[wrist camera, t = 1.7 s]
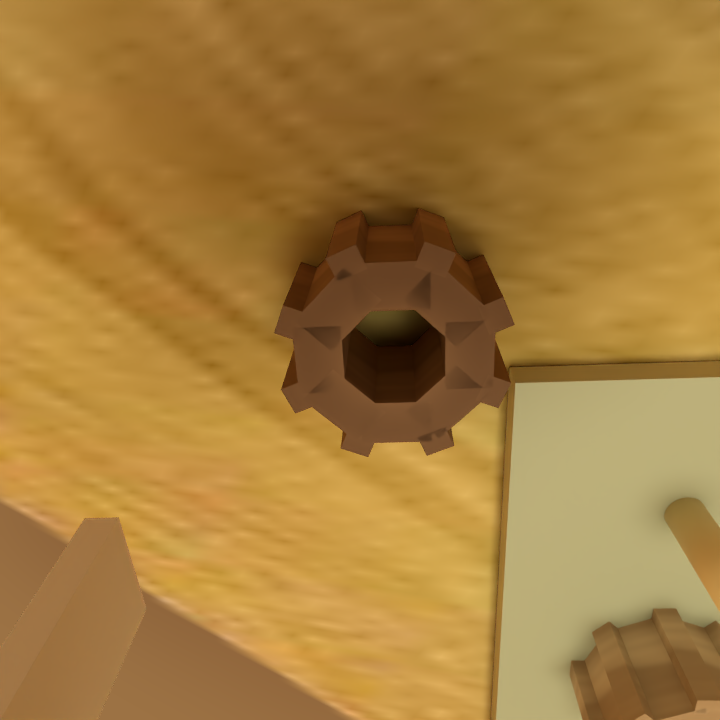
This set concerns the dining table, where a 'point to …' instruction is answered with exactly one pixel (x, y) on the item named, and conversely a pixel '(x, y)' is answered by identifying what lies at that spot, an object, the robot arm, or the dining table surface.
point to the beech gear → (651, 671)
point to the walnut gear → (394, 363)
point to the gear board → (601, 517)
